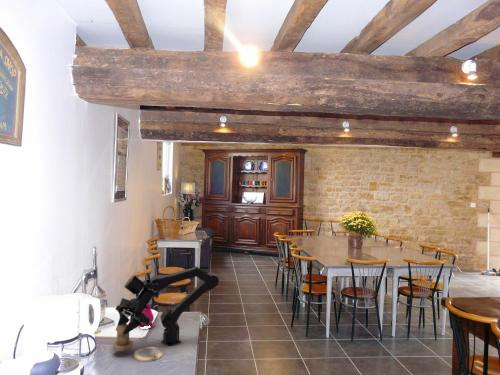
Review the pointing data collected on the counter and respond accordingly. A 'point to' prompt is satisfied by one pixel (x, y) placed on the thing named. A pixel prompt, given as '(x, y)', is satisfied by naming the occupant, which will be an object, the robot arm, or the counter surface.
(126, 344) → the brown flanged knob
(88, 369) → the counter surface
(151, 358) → the plate
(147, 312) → the pepper mill
